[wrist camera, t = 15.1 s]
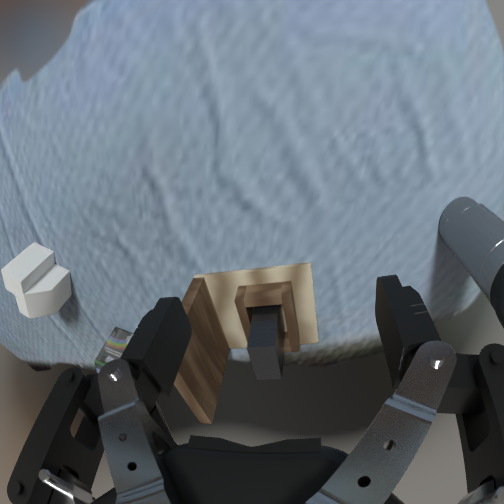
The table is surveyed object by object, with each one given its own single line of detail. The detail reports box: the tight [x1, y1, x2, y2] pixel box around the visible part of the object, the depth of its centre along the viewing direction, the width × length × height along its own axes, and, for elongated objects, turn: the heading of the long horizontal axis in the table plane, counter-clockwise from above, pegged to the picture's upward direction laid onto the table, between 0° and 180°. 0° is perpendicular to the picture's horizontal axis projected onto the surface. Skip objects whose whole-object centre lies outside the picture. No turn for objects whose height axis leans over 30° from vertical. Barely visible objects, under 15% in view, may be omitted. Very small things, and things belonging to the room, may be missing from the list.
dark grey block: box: [247, 304, 285, 380], centre depth 47 cm, size 4×8×12 cm, turn 11°
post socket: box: [174, 262, 318, 423], centre depth 45 cm, size 20×18×19 cm
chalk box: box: [94, 327, 134, 373], centre depth 58 cm, size 9×9×15 cm
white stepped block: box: [1, 242, 72, 318], centre depth 51 cm, size 11×11×12 cm
